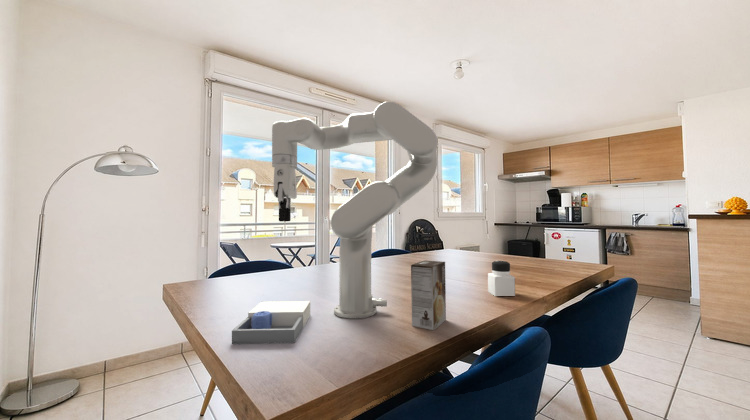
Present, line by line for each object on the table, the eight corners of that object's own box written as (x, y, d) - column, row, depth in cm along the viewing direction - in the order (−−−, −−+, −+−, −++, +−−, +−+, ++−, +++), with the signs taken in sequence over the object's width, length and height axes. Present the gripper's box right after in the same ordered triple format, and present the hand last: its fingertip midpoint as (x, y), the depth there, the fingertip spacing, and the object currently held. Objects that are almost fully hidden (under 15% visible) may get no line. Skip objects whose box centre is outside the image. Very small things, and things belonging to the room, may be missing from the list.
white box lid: (310, 314, 88) (310, 301, 88) (303, 327, 78) (303, 311, 78) (261, 315, 88) (261, 301, 88) (248, 328, 78) (248, 312, 78)
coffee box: (424, 316, 87) (424, 259, 87) (446, 320, 83) (446, 261, 84) (410, 326, 79) (410, 264, 79) (434, 331, 76) (433, 266, 76)
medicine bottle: (515, 297, 106) (515, 262, 107) (495, 297, 107) (494, 262, 107) (507, 292, 114) (506, 259, 114) (487, 292, 114) (487, 259, 114)
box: (303, 327, 78) (303, 316, 78) (294, 343, 69) (294, 329, 69) (247, 328, 78) (247, 316, 78) (231, 344, 68) (231, 330, 68)
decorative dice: (272, 310, 78) (268, 315, 74) (272, 326, 78) (268, 332, 74) (255, 311, 77) (251, 316, 73) (255, 327, 77) (251, 333, 73)
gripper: (290, 157, 87) (290, 221, 87) (301, 166, 102) (301, 220, 102) (264, 157, 87) (264, 221, 87) (279, 166, 102) (279, 221, 102)
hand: (284, 221), depth 94 cm, fingers closed
